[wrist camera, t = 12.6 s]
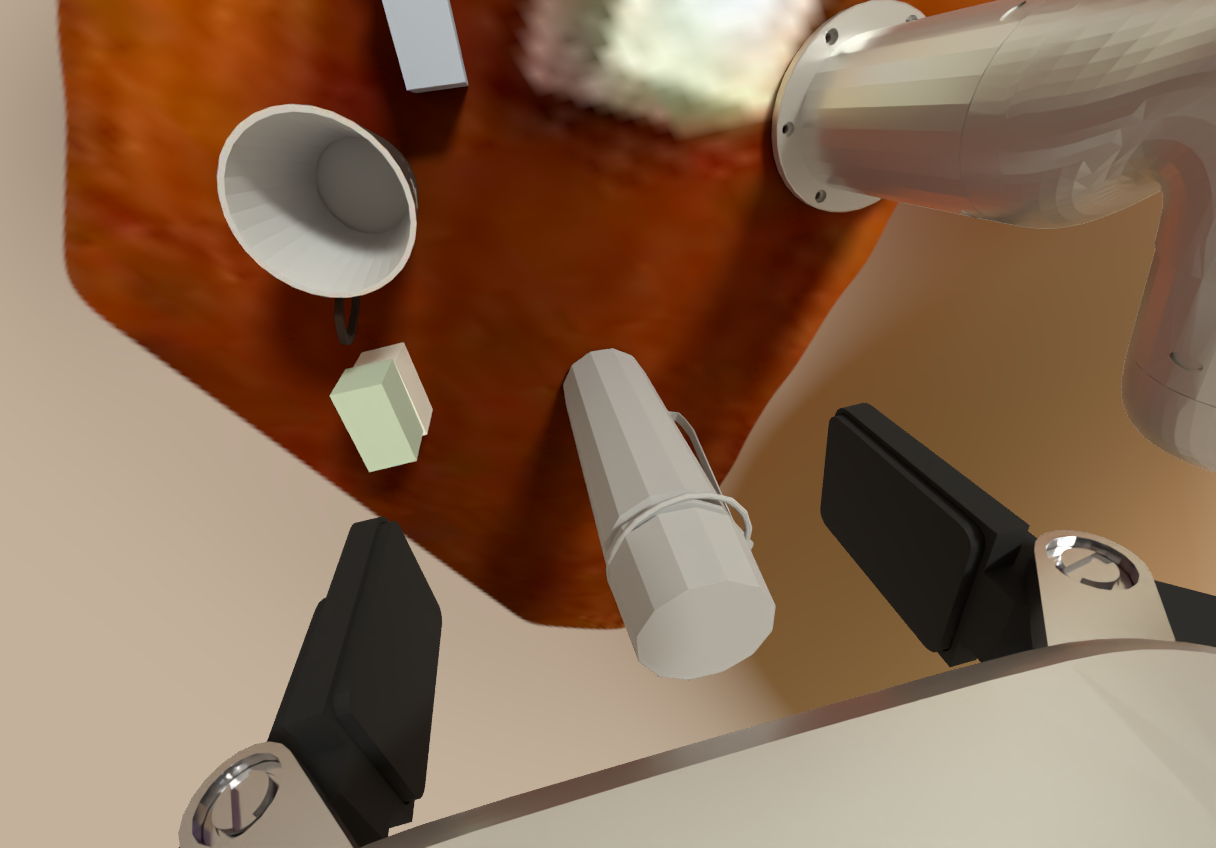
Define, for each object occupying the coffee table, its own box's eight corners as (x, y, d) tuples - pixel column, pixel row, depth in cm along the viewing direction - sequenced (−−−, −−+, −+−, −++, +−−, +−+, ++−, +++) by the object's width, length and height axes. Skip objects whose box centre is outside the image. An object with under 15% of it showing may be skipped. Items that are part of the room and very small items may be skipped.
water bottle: (555, 421, 45) (609, 693, 23) (567, 336, 41) (645, 567, 20) (654, 427, 47) (786, 679, 26) (675, 347, 43) (848, 565, 22)
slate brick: (381, -36, 28) (365, -58, 25) (439, -43, 28) (432, -65, 25) (416, 93, 31) (406, 90, 28) (468, 86, 32) (465, 82, 28)
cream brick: (361, 352, 38) (348, 374, 35) (403, 342, 39) (395, 363, 35) (393, 418, 42) (384, 445, 38) (432, 409, 42) (427, 434, 38)
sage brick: (345, 369, 35) (329, 395, 31) (392, 358, 35) (381, 383, 32) (380, 440, 38) (369, 472, 35) (423, 430, 38) (416, 460, 35)
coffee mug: (322, 73, 30) (254, 56, 21) (458, 167, 34) (447, 183, 25) (253, 246, 34) (172, 289, 25) (383, 314, 37) (350, 371, 29)
